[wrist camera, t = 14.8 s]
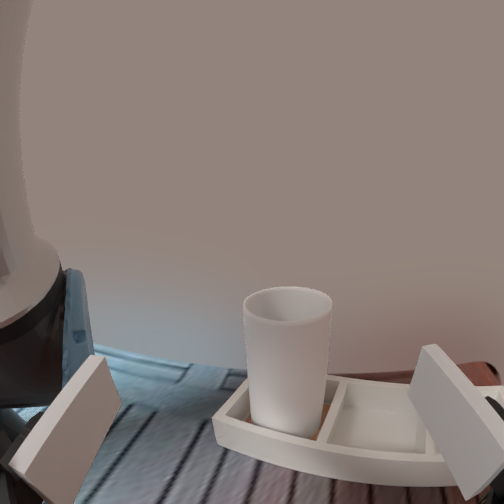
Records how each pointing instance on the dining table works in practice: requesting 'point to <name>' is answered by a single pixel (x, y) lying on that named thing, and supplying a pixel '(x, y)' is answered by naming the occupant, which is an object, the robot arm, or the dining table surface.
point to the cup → (287, 357)
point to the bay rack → (348, 436)
